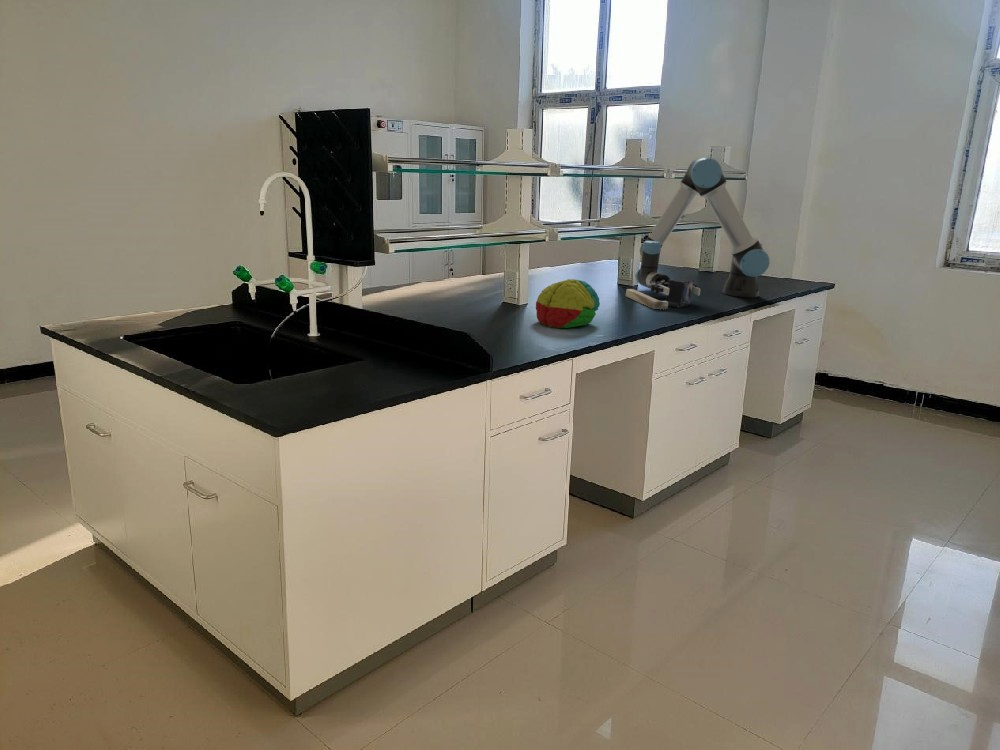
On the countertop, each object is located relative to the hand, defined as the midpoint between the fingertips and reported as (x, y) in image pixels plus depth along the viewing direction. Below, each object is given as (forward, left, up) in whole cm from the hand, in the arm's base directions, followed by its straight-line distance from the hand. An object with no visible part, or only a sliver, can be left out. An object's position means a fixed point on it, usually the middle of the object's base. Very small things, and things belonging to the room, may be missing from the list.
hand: (683, 292), depth 282 cm
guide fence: (+12, -8, -6) cm, 15 cm away
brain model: (+58, +26, -6) cm, 64 cm away
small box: (0, -3, -6) cm, 7 cm away
